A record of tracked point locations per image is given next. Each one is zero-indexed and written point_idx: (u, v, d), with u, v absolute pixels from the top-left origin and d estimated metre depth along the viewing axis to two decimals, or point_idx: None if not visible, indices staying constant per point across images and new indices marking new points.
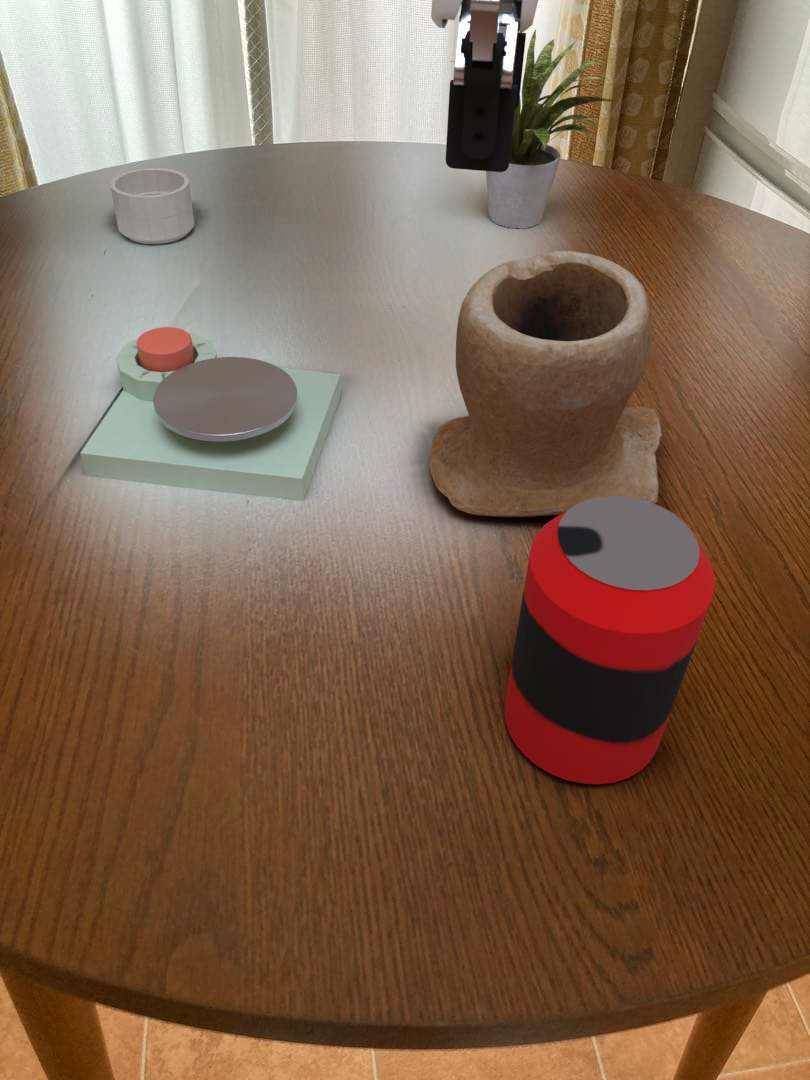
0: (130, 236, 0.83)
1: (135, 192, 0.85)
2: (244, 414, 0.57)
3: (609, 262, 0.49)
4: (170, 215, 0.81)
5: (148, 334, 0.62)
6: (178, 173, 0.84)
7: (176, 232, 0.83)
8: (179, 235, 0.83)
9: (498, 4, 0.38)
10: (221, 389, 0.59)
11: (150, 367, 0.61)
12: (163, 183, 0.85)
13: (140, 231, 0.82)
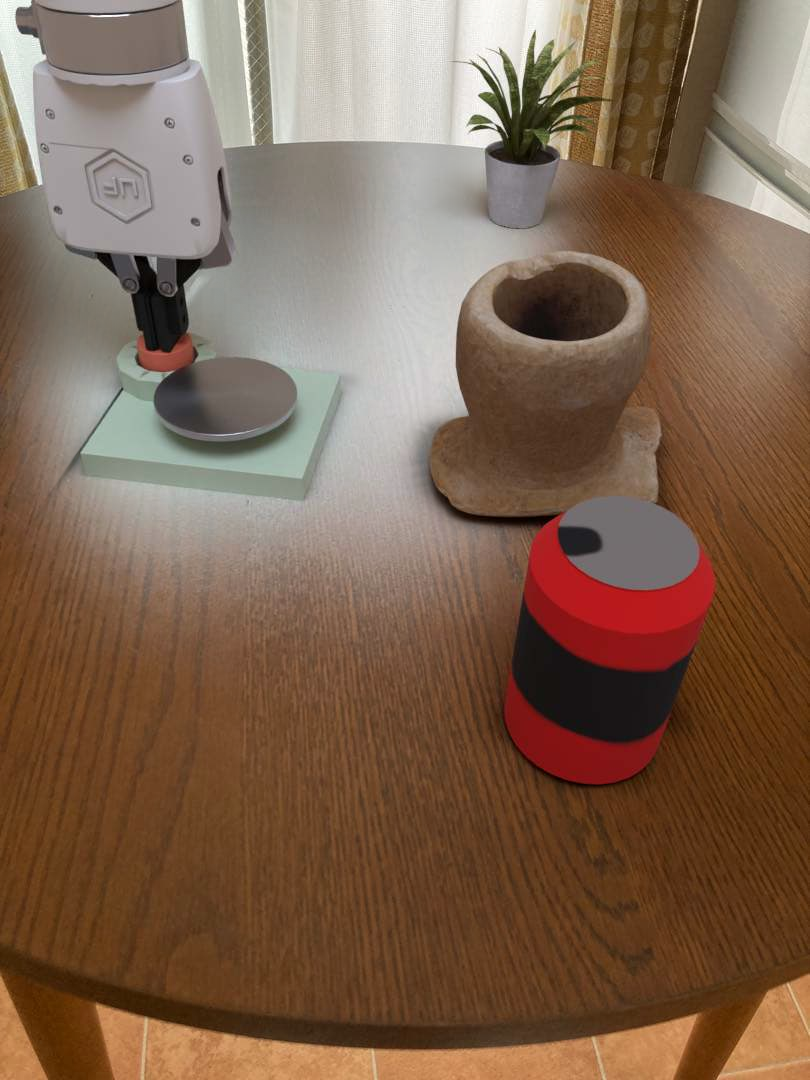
0: None
1: None
2: (244, 414, 0.57)
3: (609, 262, 0.49)
4: None
5: None
6: None
7: None
8: None
9: (234, 254, 0.57)
10: (221, 389, 0.59)
11: (150, 367, 0.61)
12: None
13: None
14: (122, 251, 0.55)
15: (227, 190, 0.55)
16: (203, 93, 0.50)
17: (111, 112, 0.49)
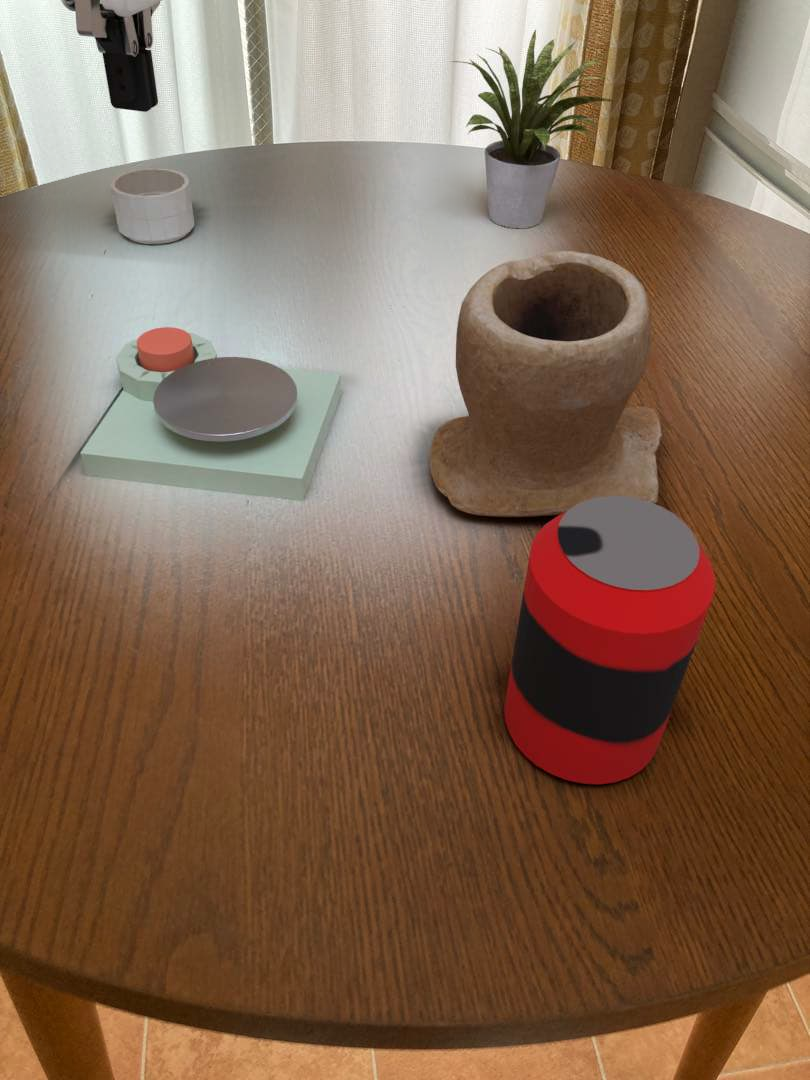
0: (130, 236, 0.83)
1: (135, 192, 0.85)
2: (244, 414, 0.57)
3: (609, 262, 0.49)
4: (170, 215, 0.81)
5: (148, 334, 0.62)
6: (178, 173, 0.84)
7: (176, 232, 0.83)
8: (179, 235, 0.83)
9: None
10: (221, 389, 0.59)
11: (150, 367, 0.61)
12: (163, 183, 0.85)
13: (140, 231, 0.82)
14: (150, 3, 0.66)
15: None
16: None
17: None
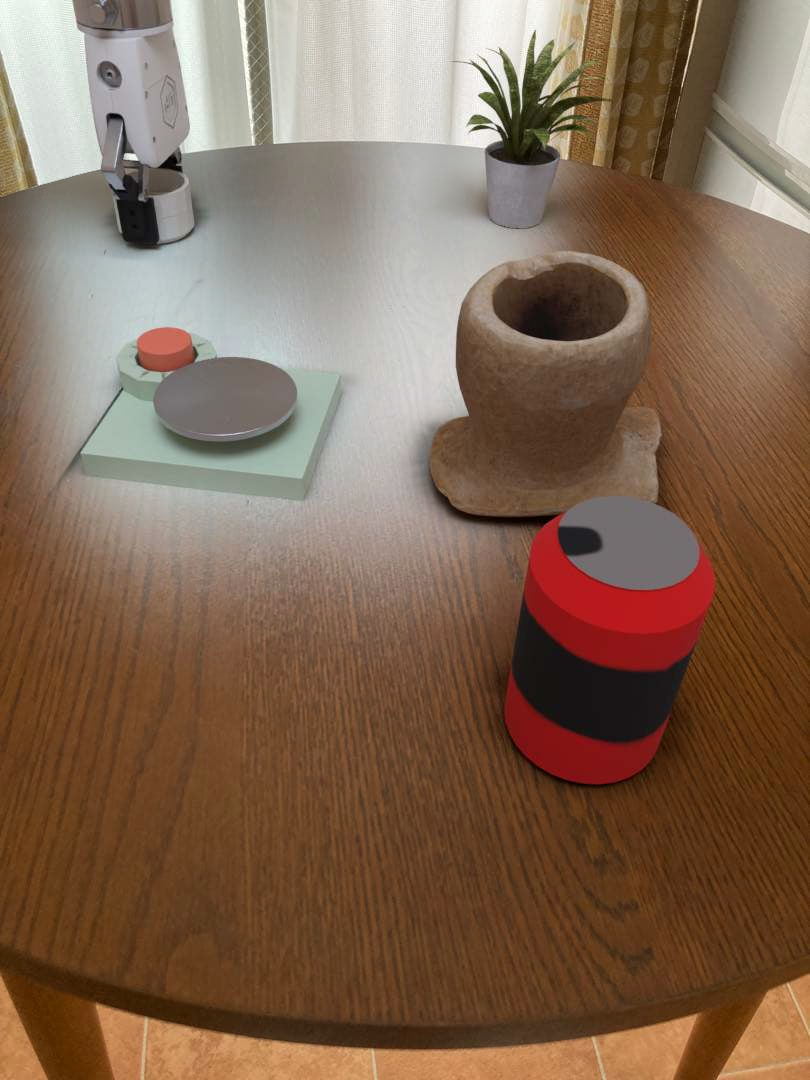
0: None
1: None
2: (244, 414, 0.57)
3: (609, 262, 0.49)
4: (170, 215, 0.81)
5: (148, 334, 0.62)
6: (178, 173, 0.84)
7: (176, 232, 0.83)
8: (179, 235, 0.83)
9: None
10: (221, 389, 0.59)
11: (150, 367, 0.61)
12: (163, 183, 0.85)
13: None
14: (173, 151, 0.80)
15: None
16: None
17: (163, 48, 0.75)
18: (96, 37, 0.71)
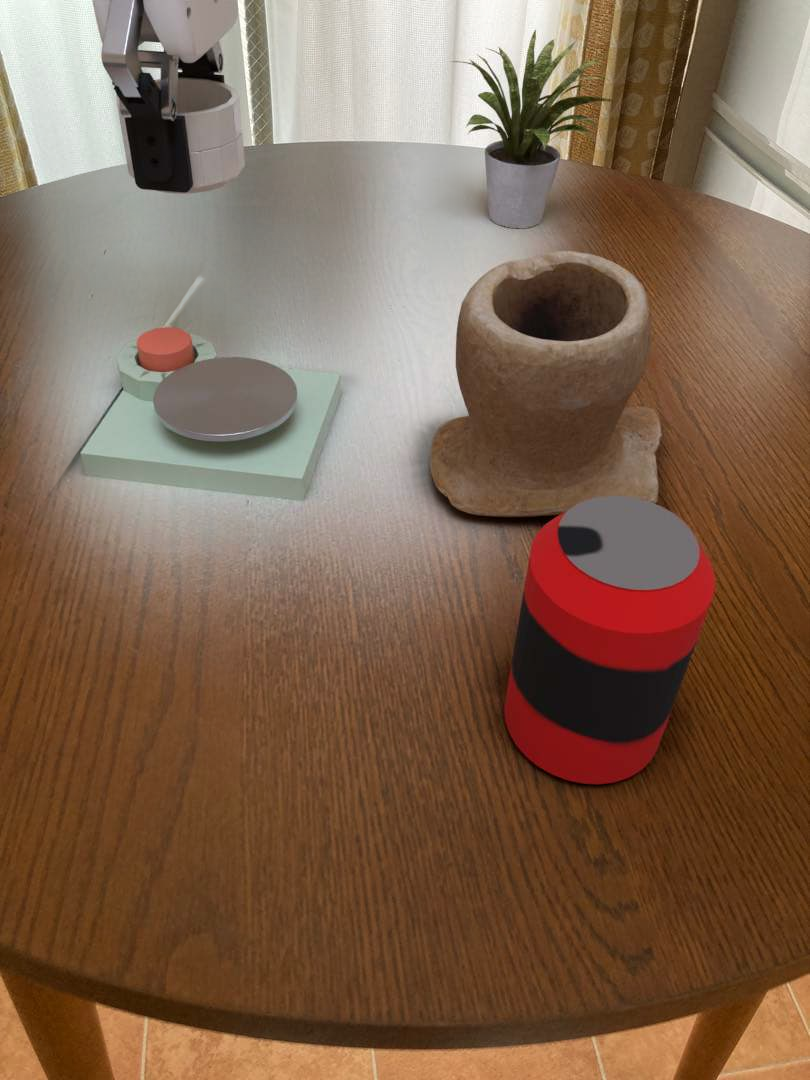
0: None
1: None
2: (244, 414, 0.57)
3: (609, 262, 0.49)
4: (211, 146, 0.52)
5: (148, 334, 0.62)
6: (220, 84, 0.54)
7: (219, 174, 0.53)
8: (224, 179, 0.53)
9: None
10: (221, 389, 0.59)
11: (150, 367, 0.61)
12: (197, 102, 0.55)
13: None
14: (215, 42, 0.50)
15: None
16: None
17: None
18: None
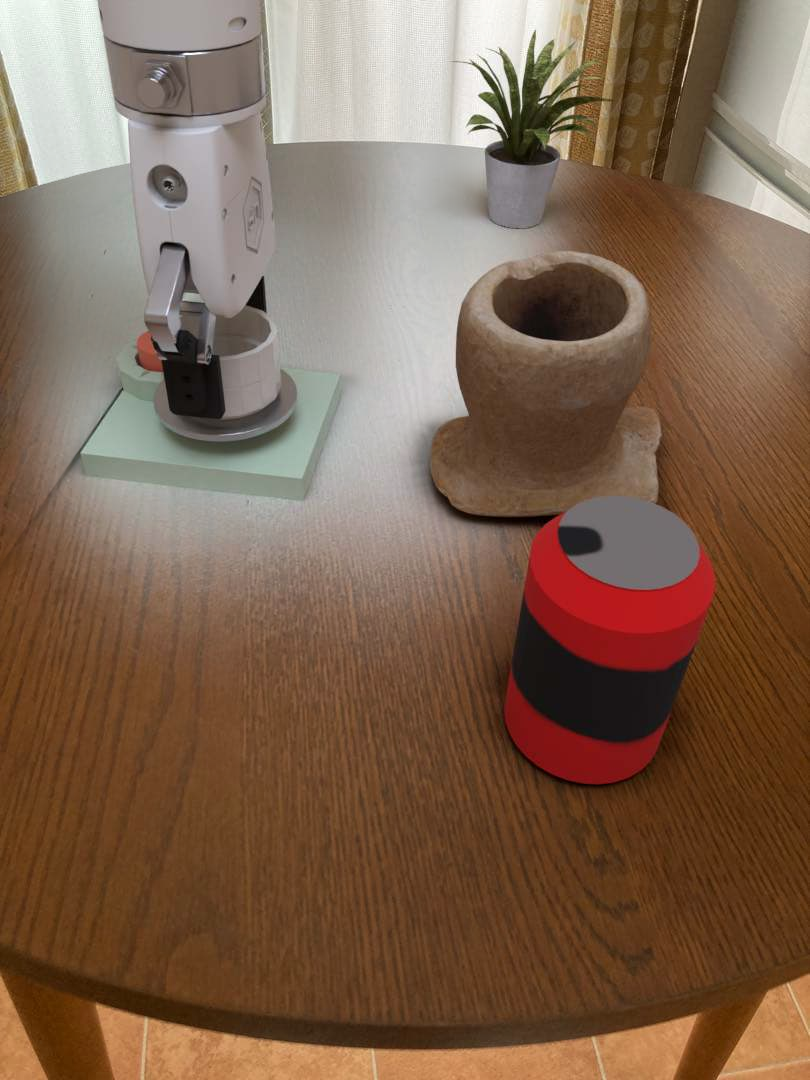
0: None
1: None
2: None
3: (609, 262, 0.49)
4: (251, 382, 0.55)
5: (148, 334, 0.62)
6: (259, 313, 0.57)
7: (258, 403, 0.56)
8: (262, 406, 0.56)
9: None
10: None
11: (150, 367, 0.61)
12: (236, 325, 0.58)
13: None
14: (255, 286, 0.52)
15: None
16: None
17: (248, 137, 0.48)
18: (147, 127, 0.44)
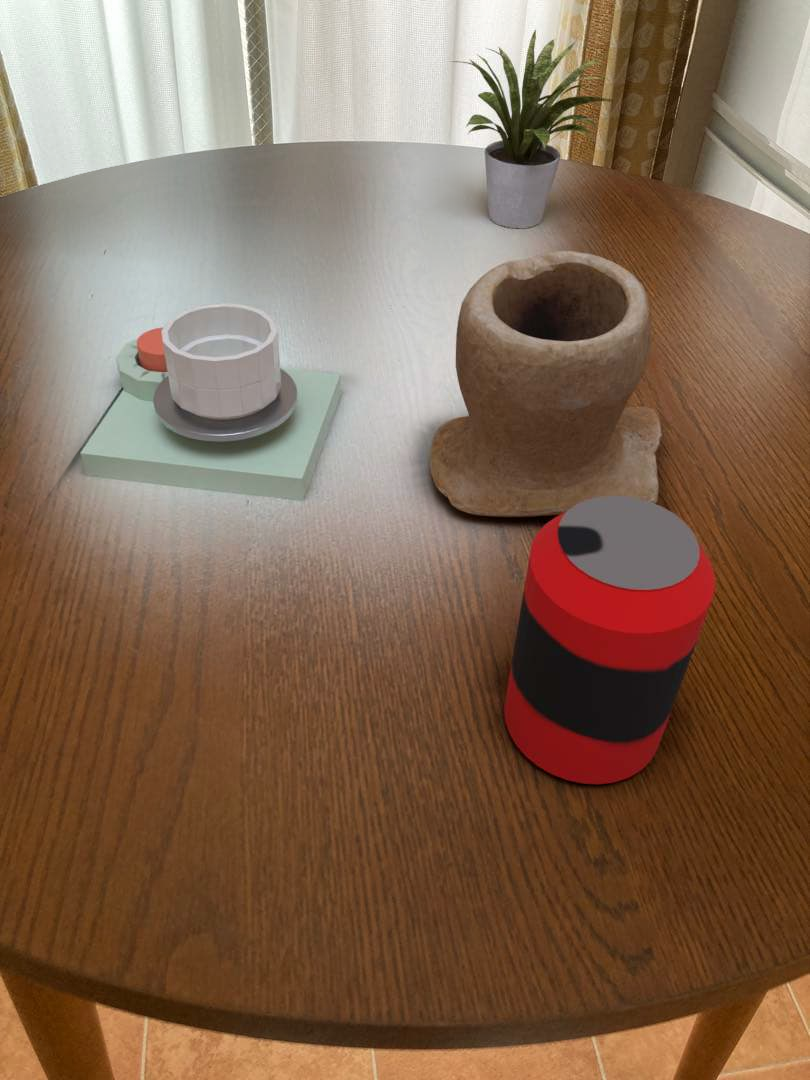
0: (190, 410, 0.56)
1: (195, 338, 0.58)
2: None
3: (609, 262, 0.49)
4: (251, 382, 0.55)
5: (148, 334, 0.62)
6: (259, 313, 0.57)
7: (258, 403, 0.56)
8: (262, 406, 0.56)
9: None
10: None
11: (150, 367, 0.61)
12: (236, 325, 0.58)
13: (206, 405, 0.55)
14: None
15: None
16: None
17: None
18: None
